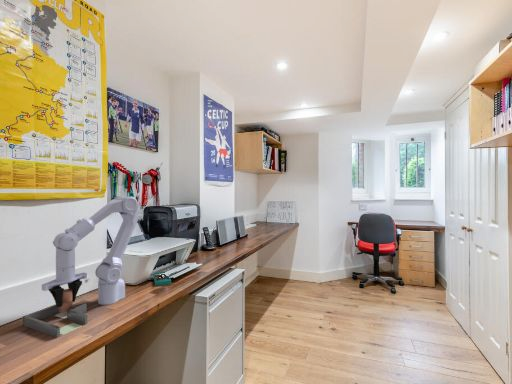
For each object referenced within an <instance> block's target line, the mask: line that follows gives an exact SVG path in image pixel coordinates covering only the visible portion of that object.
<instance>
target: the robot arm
mask: <svg viewBox="0 0 512 384" xmlns="http://www.w3.org/2000/svg"><path fill="white" fill-rule="evenodd" d="M139 207H140V203H139V202H138V200H137V199H136V198H135V197H134V196H122V195H118V196H116V197H114V199H112V200H109V202H108V203H107V204H105V205H104V206H103V207H102V208H100V209H99V210H98V211H96V212H95V213H94V214H93V215H91V216H90V217H89V218H82V219H77V220H76V223H75V224H73V225H72V226H71V227H70V228H66V229H64V232H61V233H58V234H56V236H55V237H54V240H53V241H52V244H53V246H54V247H55V279H53V280H50V281H48V282H44V283H42V284H41V291H44V292H46V291H48V292H49V293H50V294H51V296H52V297H53V300H54V302H55V305H56V306H57V307H62V296H63V291H64V289H65V288H63V287H62V286H63V285H66V284H67V287H68V288H67V289H72V303H74V302H75V301H76V298H77V295H78V292H79V290H80V288H81V286H82V285H83V281H82V280H85V279H88V273H87V272H81V273H76V253H75V252H76V250H75V249H76V247H77V246H78V243H79V242H81V240H83V239H84V238H86V237H87V236H88V235H89V234H91V233H92V232H93V231H94V230H95V227H96V225H97V224H99V223H101V222H102V221H103V220H104V219H106V218H107V217H109V216H110V215H112V214H114V213H116V214H117V213H119V215H120V216H121V218H122V223H121V225H120V227H119V229H118V231H117V234H116V236H115V238H114V241H113V242H112V245H111V248H110V250H109V252H108V255H107V256H106V257H105V258H103V259H102V261H101V263H100V264H99V265H97V267H96V269H95V273H94V274H95V276H96V278H98V281H97V283H98V284H97V287H98V288H97V299H98V300H97V303H98V304H99V305H103V306H104V305H105V306H107V305H112V304H115V303H116V302H118V301H120V300H122V299H125V298H126V282H125V281H124V279H123V278H121V276H122V268H123V262H122V259H123V256H124V255H125V251H126V249H127V248H128V245H129V242H130V240H131V238H132V235H133V232H134V230H135V228H136V226H137V224H138V220H139Z"/></svg>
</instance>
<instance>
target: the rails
mask: <svg viewBox="0 0 512 384" xmlns="http://www.w3.org/2000/svg"><path fill="white" fill-rule="evenodd" d="M87 307H88V305H87V303H83V304H80V305H78V306H75V307H72V309H70V310H68V311H67V318H66V319H67V320H69V321H72V322H75V323H79V324H80V325H81V324H82V325H87V324H89V323H88V314H85V313H87V311H88V308H87ZM59 313H60V312H59V307H57V306H56V304H53V305H51V306H48V307H45V308H43V309H40V310H37V311H34V312H31V313H29V314H26V315H24V316H22V326H24V327H26V328H30V329H32V330H34V331H37V332H40V333H43V334H46V335H48V336H51V337H53V338H54V337H55V338H56V339H58V338H60V337H61V334H60V328H61V327H60V326H57V325H55V324H52V323H50V322H46V321H43V319H46V318H48V317H50V316H54V315H57V314H59Z"/></svg>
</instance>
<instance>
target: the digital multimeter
mask: <svg viewBox="0 0 512 384" xmlns="http://www.w3.org/2000/svg"><path fill="white" fill-rule="evenodd" d="M165 272H166V271H158V272H154V273H152V277H153V276H154V278H153V281H154V286H155V287H160V286H161V287H162V286H167V285H171V284H172V280H171V278H170V276H166V275H165V274H161V275H155V274H159V273H165ZM162 275H164V276H165V277H164V278H163V277H162ZM159 277H161V278H159Z"/></svg>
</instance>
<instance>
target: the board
mask: <svg viewBox="0 0 512 384" xmlns="http://www.w3.org/2000/svg"><path fill="white" fill-rule="evenodd" d="M53 316H54V317H58V318H61V319H64V320H65V319H67V312H64V313H60V312H58V313H56V314H53ZM81 327H82V325H81V324H77V323H76V322H75V323H74V322H71V323H69V324H66V325H64V326H62V327H60V335H63V336H64V335H67V334H69V333H71V332H73V331H75V330H77V329H79V328H81Z"/></svg>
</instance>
